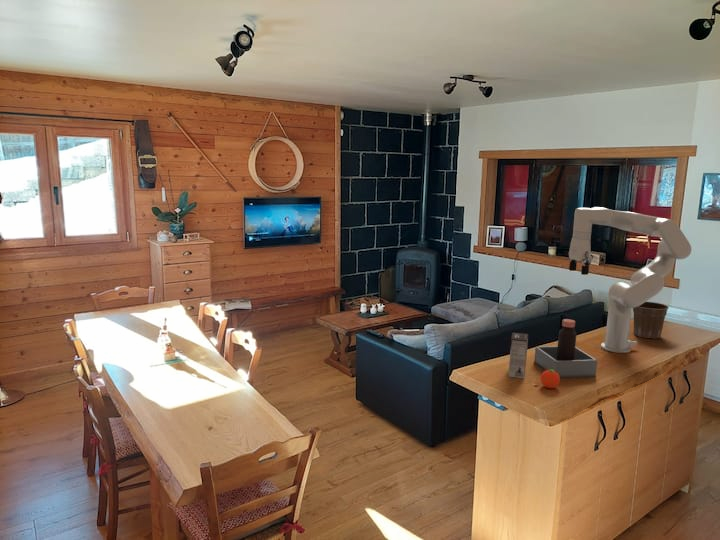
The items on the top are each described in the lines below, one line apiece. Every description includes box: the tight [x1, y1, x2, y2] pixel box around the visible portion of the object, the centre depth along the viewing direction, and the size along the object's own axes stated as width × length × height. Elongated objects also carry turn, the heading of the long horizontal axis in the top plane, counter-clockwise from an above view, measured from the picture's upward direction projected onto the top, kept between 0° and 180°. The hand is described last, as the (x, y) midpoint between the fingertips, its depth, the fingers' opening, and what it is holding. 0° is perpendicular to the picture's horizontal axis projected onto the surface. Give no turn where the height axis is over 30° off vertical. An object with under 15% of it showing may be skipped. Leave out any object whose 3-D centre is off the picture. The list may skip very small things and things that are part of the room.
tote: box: [533, 345, 598, 379], centre depth 214 cm, size 18×18×7 cm
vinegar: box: [556, 318, 577, 361], centre depth 212 cm, size 7×7×20 cm
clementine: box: [540, 369, 561, 389], centre depth 195 cm, size 8×7×7 cm
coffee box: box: [508, 332, 529, 379], centre depth 207 cm, size 9×6×16 cm
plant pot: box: [632, 301, 670, 340], centre depth 260 cm, size 16×16×16 cm
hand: (578, 272), depth 235 cm, fingers open, 9 cm apart
